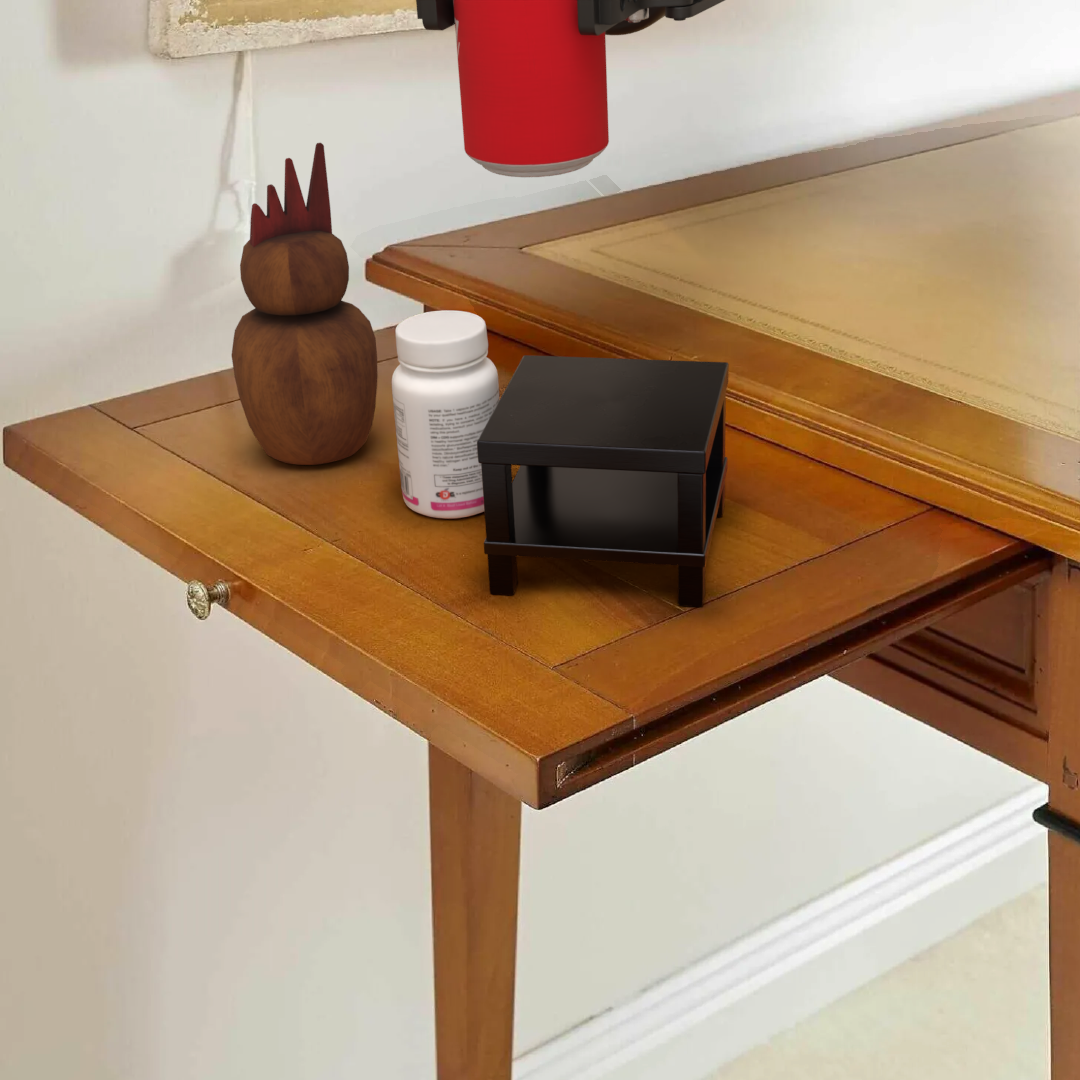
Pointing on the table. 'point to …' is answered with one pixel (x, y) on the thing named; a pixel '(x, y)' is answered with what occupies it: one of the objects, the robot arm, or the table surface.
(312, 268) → the wooden figurine
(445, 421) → the pill bottle
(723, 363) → the side table
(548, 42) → the beverage can
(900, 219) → the table surface
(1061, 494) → the table surface
